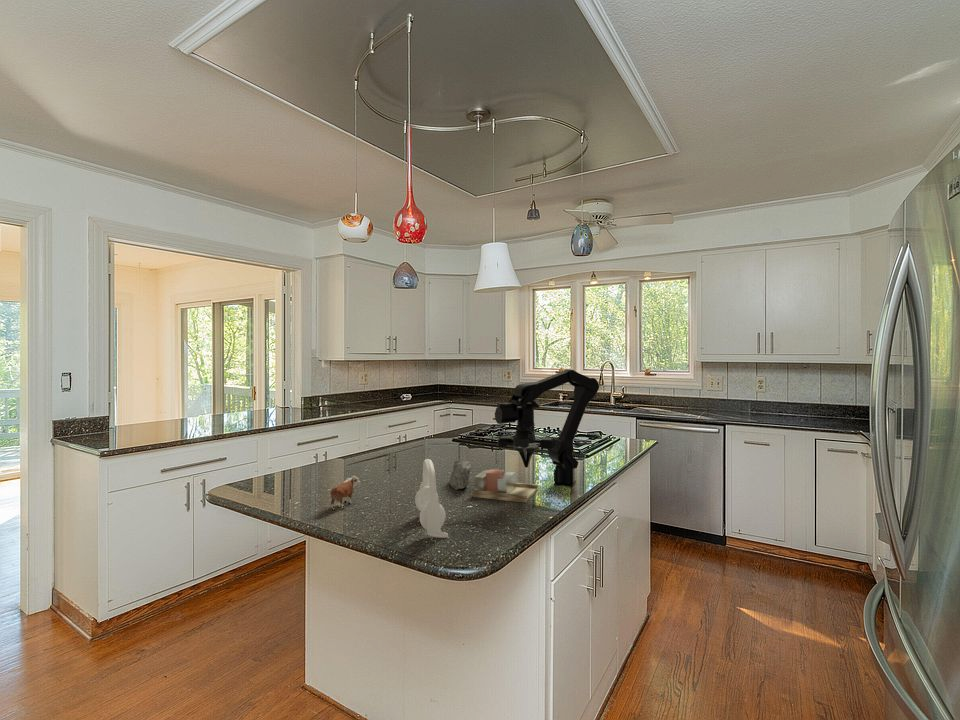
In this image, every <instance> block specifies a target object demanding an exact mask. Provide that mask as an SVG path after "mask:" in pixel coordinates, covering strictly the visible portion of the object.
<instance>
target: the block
mask: <svg viewBox="0 0 960 720" xmlns="http://www.w3.org/2000/svg"><path fill="white" fill-rule="evenodd" d="M488 470H489V471H488V472H486V491H493V492H498V478H500V477H501V476H502V475H504V474H505V473H506V470H504V469H491V468H490V469H488Z"/></svg>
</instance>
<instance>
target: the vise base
mask: <svg viewBox="0 0 960 720" xmlns="http://www.w3.org/2000/svg"><path fill="white" fill-rule="evenodd" d="M489 470H490V469H485V470H483V471H481V472H480V473H478V474H476V475H475V476H474V489H473V490H472V491H471V495H472V498H480V499H488V500H496V501H497V500H498V501H508V502H517V503H527V502H528V501H529V500H530V499H531V498H532V497H533V495H535V494H536V493H537V492H538V490H539V489H538V486H539V485H538V484H536V483H525V482H516V487H515V488H514V489H513V490H512V491H511V492H510V493H499V492H493V491H486V472H488V471H489Z"/></svg>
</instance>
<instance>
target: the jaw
mask: <svg viewBox="0 0 960 720" xmlns="http://www.w3.org/2000/svg"><path fill="white" fill-rule="evenodd" d="M516 483H517V473H516V471H513V472H512V471H505V474H504V475H502V476H501V477H500V478H498V492H499V493H510V492H511V491H512V490H513V489H514V488H515V487H516Z"/></svg>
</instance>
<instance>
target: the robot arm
mask: <svg viewBox="0 0 960 720" xmlns="http://www.w3.org/2000/svg"><path fill="white" fill-rule="evenodd" d="M567 383H568V384H569V385H571V386H572V387H574V388H573V396H574V400H573V401H572V404H571V407H570V409H569V412H568V414H567V417H566V419H565V422H564V424H563V427H562V429H561V432H560V434H559V436H558V437H557V438H554V437H551V436H550V437H547V436H546V437H544V436H543V437H542V438H540V439H536V435H535V426H536V425H535V409H538V408H540V407H541V406H540V405H539V404H538V403H537V402H536V400H537V399H538V398H540V397H541V396H542V395H543V394H544V393H546V392H549V391H551V390H554V389H555V388H557V387H560V386H563V385H565V384H567ZM599 389H600V384H599V381H598V379H596V378H595V377H589V376H586V375H584V374H581V373H579V372H577V371H576V370H575V369H568V368H567V369H563V370H562V371H560V372H557V373H555V374H552V375H549V376H547V377H545V378H541V379H540V380H538V381H534V382H533V381H532V382H531V381H530V382H526V383H520V384H518V385H516V386H515V387H514V390H513V394H512V396H511V397H510V399H509V400H508V402H505V403H502V402H499V403H497V407H496V408H495V412H494V419H495V422H496V424H498V425H501V424H502V425H503V424H514V423H516V429H515V432H514V435H502V436H500V437H499V438H497V447H500V448H501V447H502V448H507V447H508V446H509V445H513V446H514V448H513V449H514V450H516V451H517V452H518V454H519V455H520V457H521V460H522V462H523V465H524V468H527V469H528V468H529V465H530V462H531V460H532V457H533V454H534V452H535V451H536V450H537V449H539V446H540V448H541V449H544V450H545V449H547V450H548V451H547V452H548V453H547V454H548V458H549V459H550V460H551V462H552V465H555V466H554V470H553V482H554V483H553V485H554V486H562V485H564V487H574V486H575V484H576V479H575V477H576V476H575V475H576V473H575V469H578V466H579V461H578V460H577V459H576V458H575V457H574V456H573V454H574V449H575V448H574V439H575V437H576V434H577V433H578V432H577V431H578V430H579V427H580V424H581V421H582V419H583V417H584V413H585V412H586V409H587V406H588V404H589V403H590V402H591V401H592V400H593V399H594V398H595V396H596V395H597V393H598V392H599ZM574 483H575V484H574Z"/></svg>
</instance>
